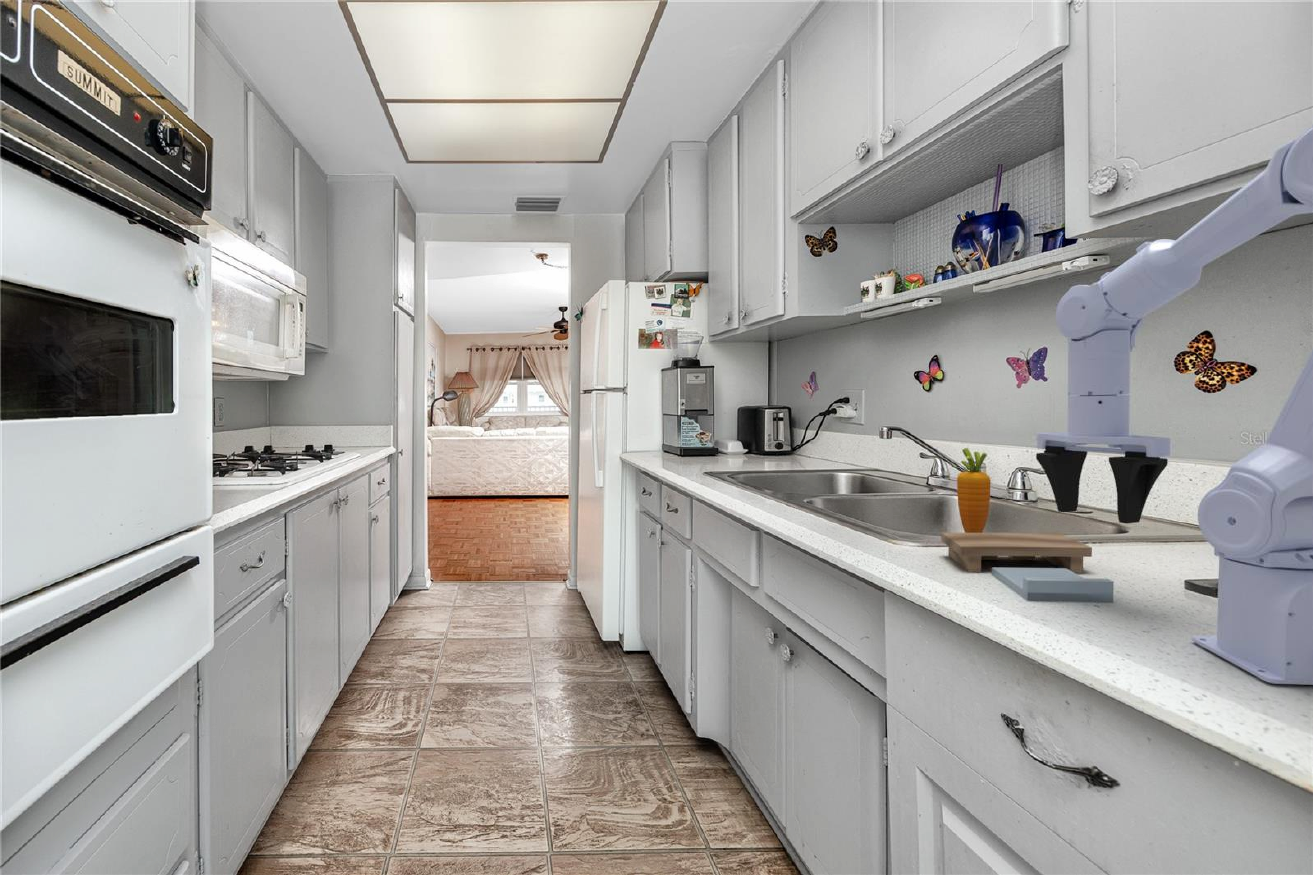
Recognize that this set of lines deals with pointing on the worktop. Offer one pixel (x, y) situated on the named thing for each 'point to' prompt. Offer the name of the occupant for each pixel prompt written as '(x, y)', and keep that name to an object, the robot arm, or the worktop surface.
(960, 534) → the bench
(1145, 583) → the worktop surface
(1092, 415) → the robot arm
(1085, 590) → the light blue lipped plate
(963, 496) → the carrot
